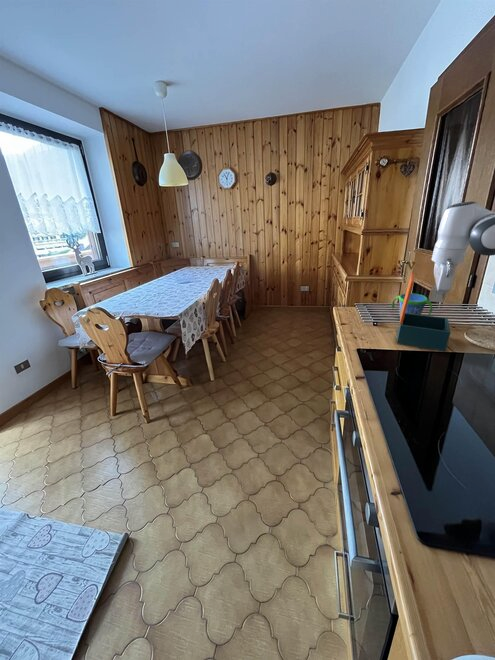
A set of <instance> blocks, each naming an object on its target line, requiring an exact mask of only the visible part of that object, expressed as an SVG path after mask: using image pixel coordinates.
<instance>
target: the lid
mask: <svg viewBox="0 0 495 660" xmlns="http://www.w3.org/2000/svg"><path fill="white" fill-rule="evenodd" d="M409 276H410V277H409V280H408V283H407V287H406V291H405V293H404V294H405V298H404V302H403V305H402V309H401V316H400V315H399V324H402V323H403V319H404V316H405V312H406V309H407V305H408V302H409V298H410V295H411V293H412V291H413V287H414V283H415V272H414V271H411V273H410V275H409Z"/></svg>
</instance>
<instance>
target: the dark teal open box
mask: <svg viewBox="0 0 495 660" xmlns="http://www.w3.org/2000/svg"><path fill="white" fill-rule="evenodd" d="M451 333H452V332H451V326H450V322H449V318H448V317H442V316H432V315H429V316H428V315H424V314H421V315H417V314H409V313H405V316H404V319H403V323H402V324H400V323H399V324H398V329H397V339H396V340H397V341H396V344H397V345H404V346H410V347H416V348H423V349H429V350H433V351H434V350H435V351H441V352H446V350H447V346H448V343H449V340H450V336H451Z"/></svg>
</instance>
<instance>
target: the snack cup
mask: <svg viewBox="0 0 495 660" xmlns="http://www.w3.org/2000/svg"><path fill="white" fill-rule="evenodd" d="M405 294H406V293H402V294H400V295H397V296H396V297H394V298H393V300H392V302H391V309H394V308H395V301H396V300H397V299H398V301H399V317H400V316H401V309H402V305H403V302H404V298H405ZM426 304H427V305H429V311H428V314H427V316H431V314H432V312H433V304H432V301H429V298H428V297H427V296H426V295H423V294H421V293H420V294H419V293H413V292H411V295H410V298H409V302H408V305H407V309H406V312H405V313H409V314H417V315H422V313H423V310H424V308H425V305H426Z"/></svg>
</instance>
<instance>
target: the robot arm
mask: <svg viewBox="0 0 495 660" xmlns="http://www.w3.org/2000/svg"><path fill="white" fill-rule="evenodd" d="M468 246H470V248H471V249H472V250H473V251H474V253H477V254H478V255H481V256H487V257H488V256H489V257H490V256H491V257H492V256H495V211H492V210H489V209H488V208H485V207H483V206H481V205H480V204H479V203H478V202H477V201H464V202H458V203H454V204H451V205H449V206H448V207H447V208H446V209H445V210H444V213H443V214H442V217H441V220H440V223H439V226H438V230H437V239H436V242H435V244H434V247H433V252H432V255H431V261H432V262H434V267H433V277H434V282H435V285H434V286H436V287H437V292H436V296H435V297H436V299H441V298H442V295H443V293H444V291H446V292H447V293H449V292H450V291H451V289H452V287H453V282H454V279H455V274H456V268H457V267H458V265H459V264H462V263H464V260H465V257H466V254H467V249H468Z"/></svg>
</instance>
